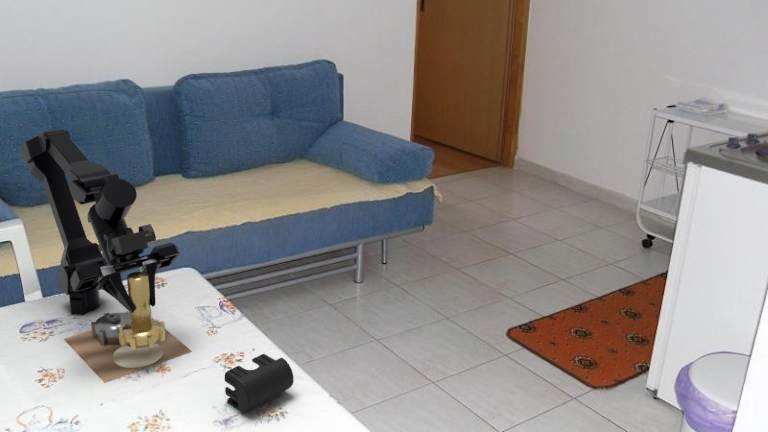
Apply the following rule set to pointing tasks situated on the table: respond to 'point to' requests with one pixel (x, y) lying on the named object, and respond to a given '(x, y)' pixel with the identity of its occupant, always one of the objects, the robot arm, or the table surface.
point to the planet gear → (140, 316)
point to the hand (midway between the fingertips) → (143, 308)
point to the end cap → (258, 382)
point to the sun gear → (109, 328)
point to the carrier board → (123, 355)
